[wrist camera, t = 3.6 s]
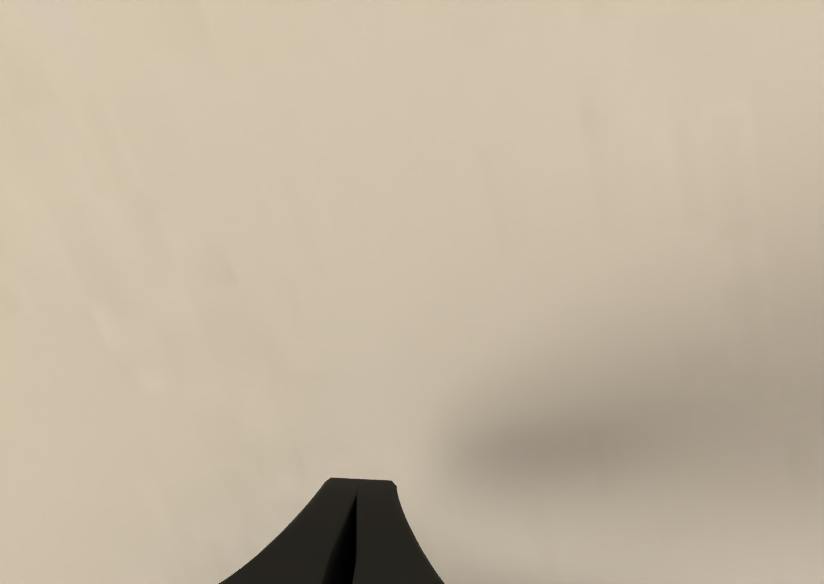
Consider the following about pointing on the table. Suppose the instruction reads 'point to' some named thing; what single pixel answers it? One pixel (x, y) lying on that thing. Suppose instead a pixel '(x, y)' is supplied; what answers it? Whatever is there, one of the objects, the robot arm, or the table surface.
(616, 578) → the table surface
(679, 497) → the table surface
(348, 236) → the table surface
